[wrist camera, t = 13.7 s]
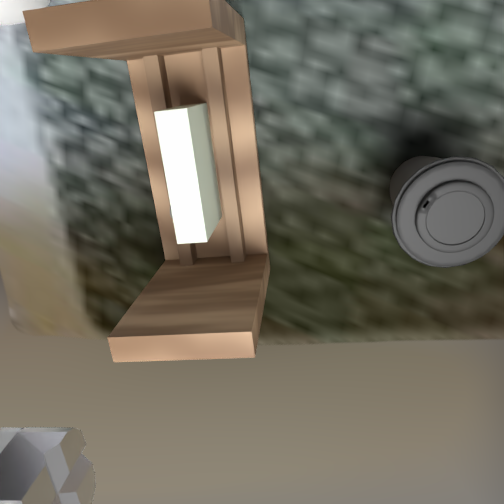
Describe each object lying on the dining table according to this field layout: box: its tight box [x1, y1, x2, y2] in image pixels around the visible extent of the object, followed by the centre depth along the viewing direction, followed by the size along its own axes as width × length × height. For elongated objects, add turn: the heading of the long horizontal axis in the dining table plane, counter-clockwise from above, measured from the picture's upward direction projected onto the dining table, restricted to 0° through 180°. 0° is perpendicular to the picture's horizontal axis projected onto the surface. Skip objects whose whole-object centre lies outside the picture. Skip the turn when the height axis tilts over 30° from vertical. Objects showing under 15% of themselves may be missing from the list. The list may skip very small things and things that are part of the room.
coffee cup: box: [389, 156, 504, 268], centre depth 35 cm, size 8×8×10 cm
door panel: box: [154, 103, 222, 244], centre depth 37 cm, size 10×3×7 cm, turn 6°
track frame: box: [22, 0, 270, 362], centre depth 34 cm, size 22×10×15 cm, turn 6°
